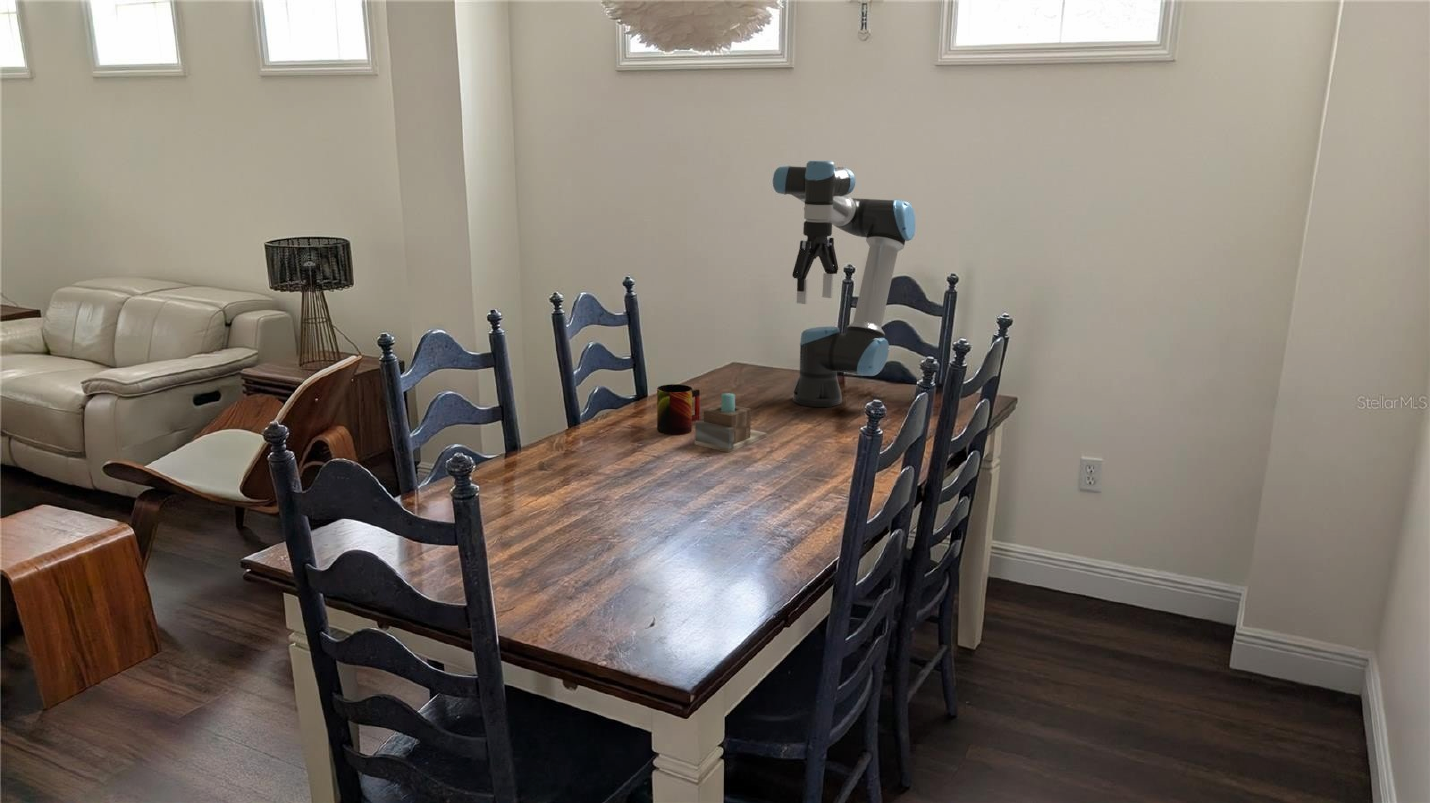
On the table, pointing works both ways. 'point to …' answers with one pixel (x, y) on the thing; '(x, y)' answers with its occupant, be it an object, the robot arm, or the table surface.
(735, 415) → the block
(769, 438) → the table surface
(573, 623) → the table surface
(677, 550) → the table surface
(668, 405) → the mug
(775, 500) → the table surface
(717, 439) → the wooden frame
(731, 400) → the dowel
